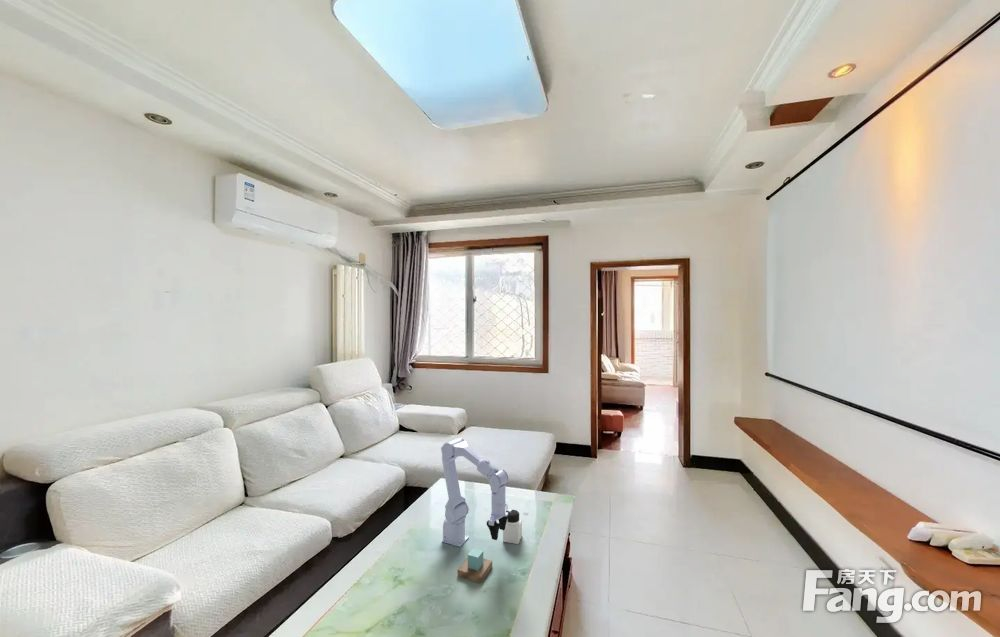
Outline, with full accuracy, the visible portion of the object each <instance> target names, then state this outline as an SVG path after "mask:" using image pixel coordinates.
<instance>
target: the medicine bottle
mask: <svg viewBox="0 0 1000 637" xmlns="http://www.w3.org/2000/svg"><path fill="white" fill-rule="evenodd" d="M507 511H510V514H509V516H508V519H507V522H506V527H505V530H502V542H503V543H509V544H516V545H519V544H520V542H521V538H522V536H523V520H522V519H520V512H519V511H518V510H516V509H509V510H508V509H507Z"/></svg>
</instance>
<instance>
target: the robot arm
mask: <svg viewBox="0 0 1000 637" xmlns="http://www.w3.org/2000/svg"><path fill="white" fill-rule="evenodd" d="M440 449H441V450H440V451H441V462H442V467H443V473H444V474H443V475H444V480H445V485H446V492H447V497H448V500H447V502H446V503H445V505H444V508H445V512H444V518H445V519H444V520H443V524H442V540H441V542H442V543H445V544H449V545H452V546H456V547H459V548H460V547H462V546H463V544H464V543H465V542H466V541H467V540H468V539H469V538H470V536H469V535H466V518H467V515H468V514H469V511H470V510H469V506H468V504H467V502H466V501H467V500H466V498H465V497H464V496H462V495H461V488H460V483H459V478H458V472H457V471H458V470H457V467H456V459H457V458H458V457H459V458H460V457H464V458H465V459H466V460H468V461H469V462H470V463H471V464H473V465H475V466H476V471H477V472H478V473H480V474H481V475H482V476H483V477H484V478H485V479H486V480H487V481H488V485H489V487H490V491H491V511H490V516H489V519H488V520H487V521H486V527H487V528H488V529H489V532H490V537H491V539H492V540H493V541H497V540H498V538H499V530H501V531H503V530H505V527H506V522H507V519H508V516H509V514H510V511H508V508H509V507H508V503H506V484H507V482H508V480H509V475H508V473H507V471H506V470H505V469H503V468H499V467H496V466H495V465H494V464H492V463H491V462H490V460H489V459H485V458H483V459H482V458H481V457H480V456H479V455H478V454H477V453H476V452H475V451H474V450H473V449H472V448H471V447H470V446H469V444H468V442H467V441H466V440H465V439H464V438H463V437H457V438H455V439H453V440H450V441H448V442H445V443H443V445H442V446H441V447H440Z"/></svg>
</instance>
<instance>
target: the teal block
mask: <svg viewBox="0 0 1000 637" xmlns="http://www.w3.org/2000/svg"><path fill="white" fill-rule="evenodd" d="M467 558H468V568H470V569H474V570H477V571H478V570H479V569H480V568H481V566H482V565H483V558H484V550H482V549H477V548H474V547H473V548H472V549H471V550H470V551H469V552H468V554H467Z"/></svg>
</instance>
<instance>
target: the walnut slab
mask: <svg viewBox="0 0 1000 637" xmlns="http://www.w3.org/2000/svg"><path fill="white" fill-rule="evenodd" d="M492 569H493V560H490V559H487V558H485V557H483V565H482V566H481V568H480V569H479V570H478V571H477V570H474V569H470V568H468V557H467V558H466V559H465V560H464V561H463V562H462V564H460V566H459V568H457V577H459V578H463V579H465V580H469V581H473V582H476V583H479V584H482V583H483V581H484V580H485V579H486V577H487V575H488V574H489V572H490V571H491V570H492Z"/></svg>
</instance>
